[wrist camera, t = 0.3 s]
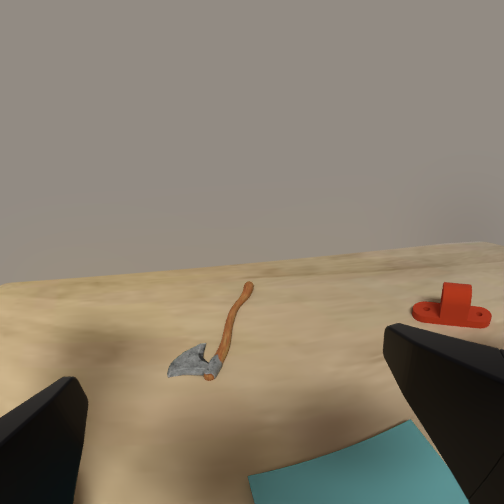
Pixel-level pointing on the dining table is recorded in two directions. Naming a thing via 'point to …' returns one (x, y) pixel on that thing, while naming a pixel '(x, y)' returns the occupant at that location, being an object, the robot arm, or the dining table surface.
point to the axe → (193, 358)
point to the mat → (365, 475)
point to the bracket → (453, 309)
